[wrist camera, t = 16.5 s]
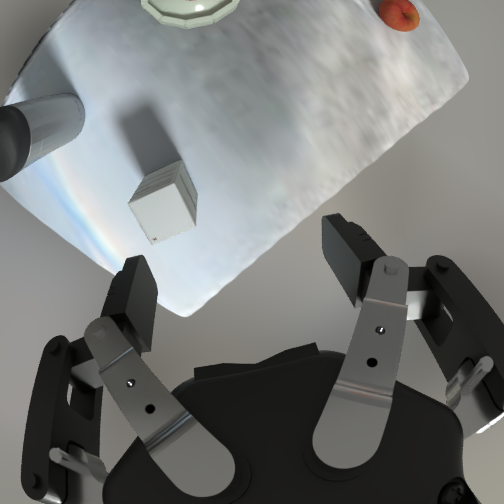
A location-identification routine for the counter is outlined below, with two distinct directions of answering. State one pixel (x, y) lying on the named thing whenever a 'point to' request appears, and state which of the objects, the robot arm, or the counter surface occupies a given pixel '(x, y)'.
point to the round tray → (189, 11)
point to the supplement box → (165, 203)
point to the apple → (399, 14)
